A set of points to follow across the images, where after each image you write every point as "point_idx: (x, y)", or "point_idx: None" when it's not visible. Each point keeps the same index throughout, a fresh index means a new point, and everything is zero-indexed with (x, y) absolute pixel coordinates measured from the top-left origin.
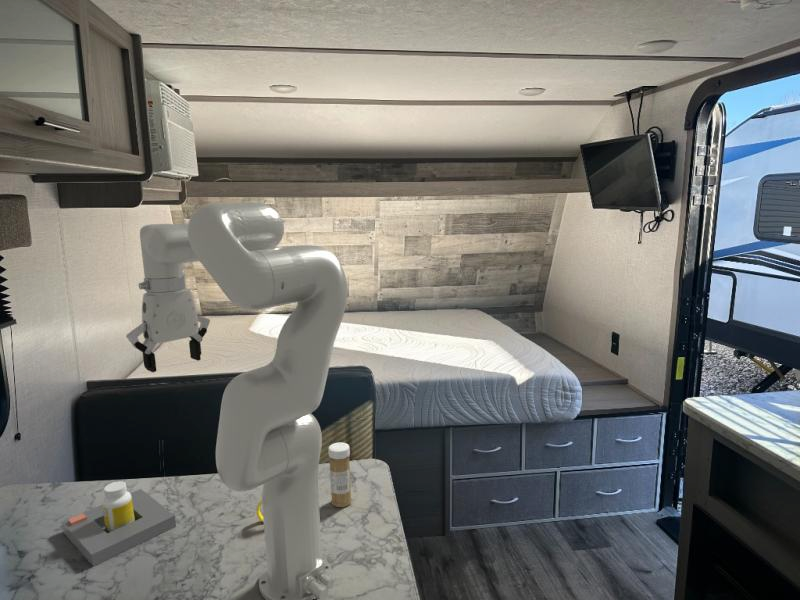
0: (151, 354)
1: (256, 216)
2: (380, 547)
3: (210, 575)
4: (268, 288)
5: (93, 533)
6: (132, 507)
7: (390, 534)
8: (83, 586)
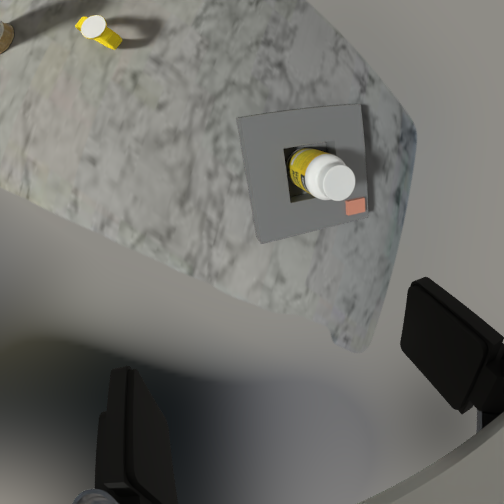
0: (500, 335)
1: None
2: None
3: None
4: None
5: (348, 154)
6: (300, 164)
7: None
8: (365, 74)
